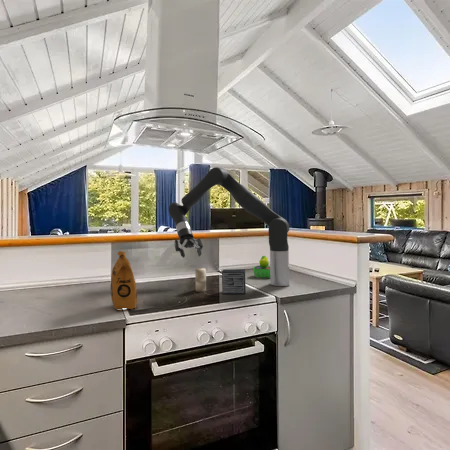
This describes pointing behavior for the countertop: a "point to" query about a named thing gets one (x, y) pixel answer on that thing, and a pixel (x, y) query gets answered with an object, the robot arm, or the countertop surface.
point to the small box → (233, 281)
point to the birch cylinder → (200, 279)
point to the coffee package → (123, 284)
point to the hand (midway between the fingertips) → (192, 256)
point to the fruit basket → (262, 268)
